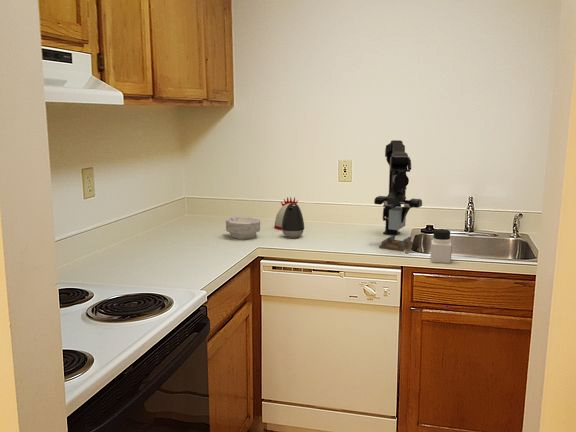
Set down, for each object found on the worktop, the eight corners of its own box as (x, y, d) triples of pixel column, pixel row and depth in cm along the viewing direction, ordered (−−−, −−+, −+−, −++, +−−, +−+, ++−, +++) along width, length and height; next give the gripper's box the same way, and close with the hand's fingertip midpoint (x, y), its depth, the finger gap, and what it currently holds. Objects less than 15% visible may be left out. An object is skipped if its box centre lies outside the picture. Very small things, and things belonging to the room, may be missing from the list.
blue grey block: (396, 224, 249) (396, 206, 248) (405, 225, 247) (406, 207, 246) (388, 229, 241) (389, 209, 239) (397, 230, 239) (398, 210, 237)
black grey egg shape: (277, 238, 259) (277, 204, 256) (286, 233, 269) (286, 200, 266) (299, 240, 255) (299, 205, 253) (307, 235, 265) (307, 202, 262)
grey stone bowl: (260, 240, 254) (260, 222, 253) (225, 240, 253) (225, 222, 252) (260, 233, 269) (260, 216, 268) (226, 233, 268) (226, 216, 267)
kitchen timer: (303, 231, 275) (303, 199, 272) (274, 230, 275) (274, 199, 272) (303, 225, 289) (303, 194, 286) (275, 225, 289) (275, 194, 286)
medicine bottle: (450, 263, 218) (452, 231, 216) (431, 262, 220) (432, 231, 218) (449, 258, 225) (451, 228, 223) (430, 257, 227) (431, 227, 224)
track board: (390, 241, 254) (390, 234, 253) (413, 244, 249) (413, 237, 248) (379, 248, 242) (379, 241, 241) (402, 251, 237) (403, 243, 236)
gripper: (370, 185, 238) (369, 223, 241) (415, 188, 229) (413, 228, 232) (379, 182, 248) (378, 218, 251) (423, 185, 239) (421, 223, 242)
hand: (397, 222), depth 244 cm, fingers closed on blue grey block, 4 cm apart
